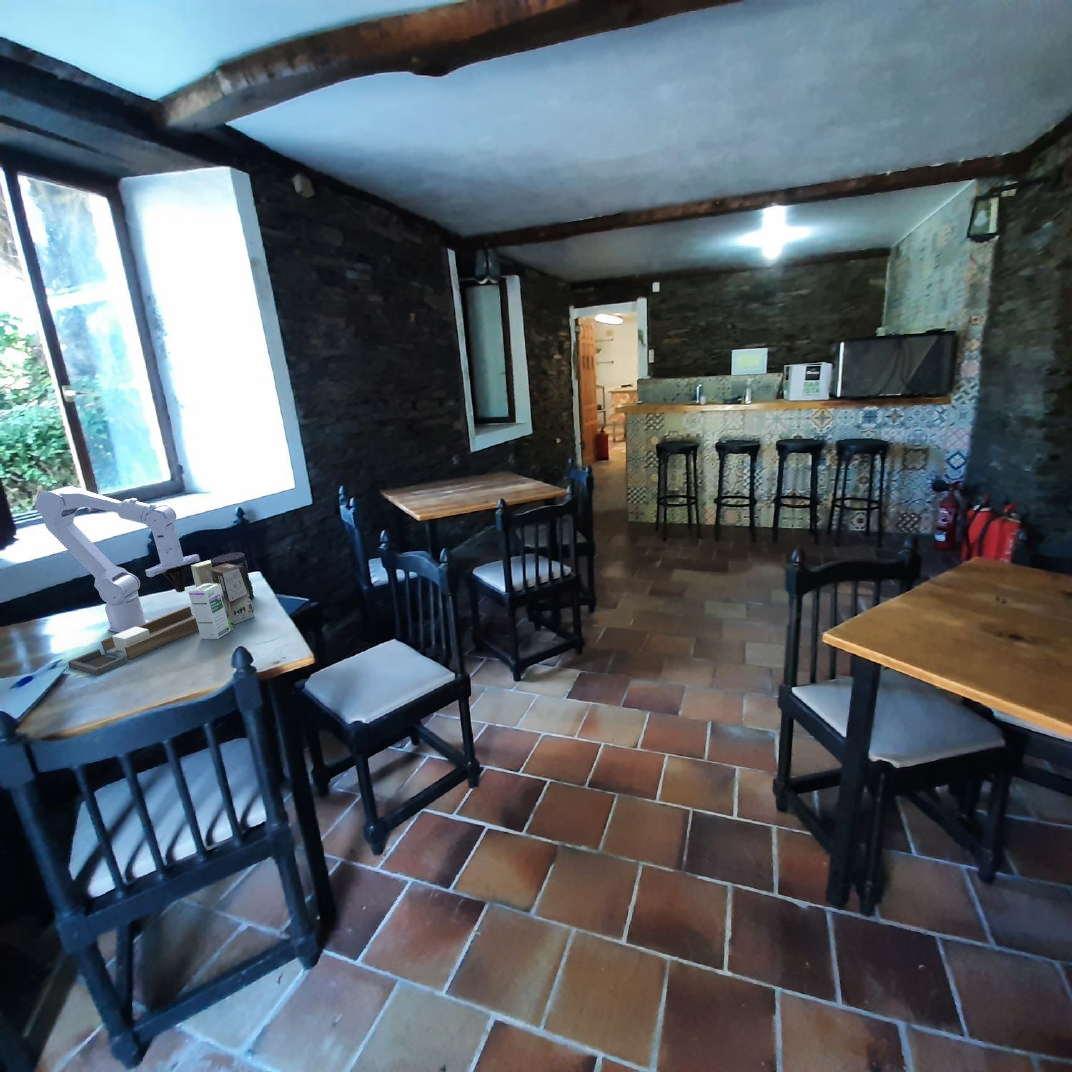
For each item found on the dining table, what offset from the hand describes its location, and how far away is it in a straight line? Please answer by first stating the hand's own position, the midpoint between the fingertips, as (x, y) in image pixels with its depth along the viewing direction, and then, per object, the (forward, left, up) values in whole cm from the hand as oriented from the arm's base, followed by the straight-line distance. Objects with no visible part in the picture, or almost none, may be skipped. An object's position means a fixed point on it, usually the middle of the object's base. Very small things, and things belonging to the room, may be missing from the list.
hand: (180, 591), depth 164 cm
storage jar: (+1, +16, -10) cm, 19 cm away
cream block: (+4, -18, -9) cm, 20 cm away
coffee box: (+14, +6, -10) cm, 18 cm away
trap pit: (+4, -27, -9) cm, 28 cm away
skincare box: (-11, +15, -10) cm, 21 cm away
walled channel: (+4, -10, -9) cm, 14 cm away
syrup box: (+19, -4, -10) cm, 22 cm away
